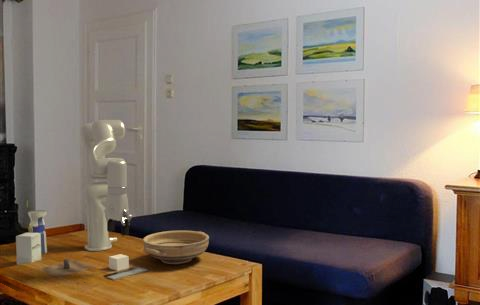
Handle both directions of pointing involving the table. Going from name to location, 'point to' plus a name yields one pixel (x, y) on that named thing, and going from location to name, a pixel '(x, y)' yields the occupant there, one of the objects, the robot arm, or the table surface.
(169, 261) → the ceramic bowl
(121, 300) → the table surface
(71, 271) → the tan square base plate
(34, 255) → the supplement box
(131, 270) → the gray square plate
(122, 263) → the cream cube
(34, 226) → the spray bottle
